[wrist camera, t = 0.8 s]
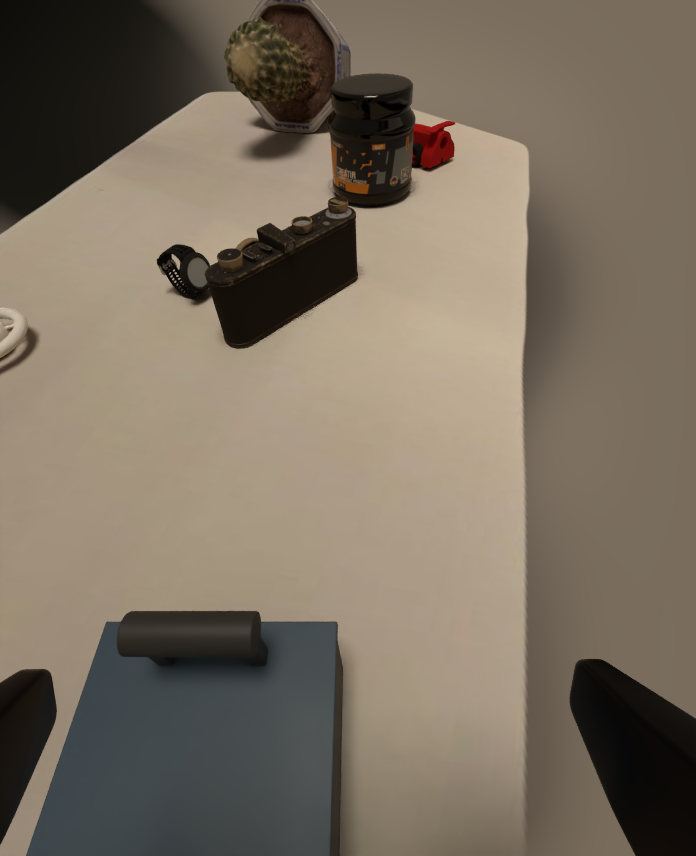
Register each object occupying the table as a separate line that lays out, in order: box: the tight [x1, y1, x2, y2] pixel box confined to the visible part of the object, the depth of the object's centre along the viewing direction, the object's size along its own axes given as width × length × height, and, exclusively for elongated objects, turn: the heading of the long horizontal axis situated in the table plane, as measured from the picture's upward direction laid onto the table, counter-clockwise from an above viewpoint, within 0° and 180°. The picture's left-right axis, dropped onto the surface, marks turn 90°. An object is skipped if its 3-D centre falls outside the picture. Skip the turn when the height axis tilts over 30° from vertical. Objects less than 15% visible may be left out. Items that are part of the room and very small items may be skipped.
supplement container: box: [329, 74, 415, 206], centre depth 58 cm, size 10×10×12 cm
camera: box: [205, 197, 358, 348], centre depth 44 cm, size 16×7×8 cm, turn 136°
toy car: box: [412, 121, 455, 168], centre depth 70 cm, size 6×18×5 cm, turn 44°
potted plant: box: [224, 0, 350, 133], centre depth 72 cm, size 18×18×30 cm
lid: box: [26, 611, 338, 856], centre depth 17 cm, size 9×11×4 cm
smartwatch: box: [157, 244, 210, 298], centre depth 46 cm, size 4×5×5 cm
